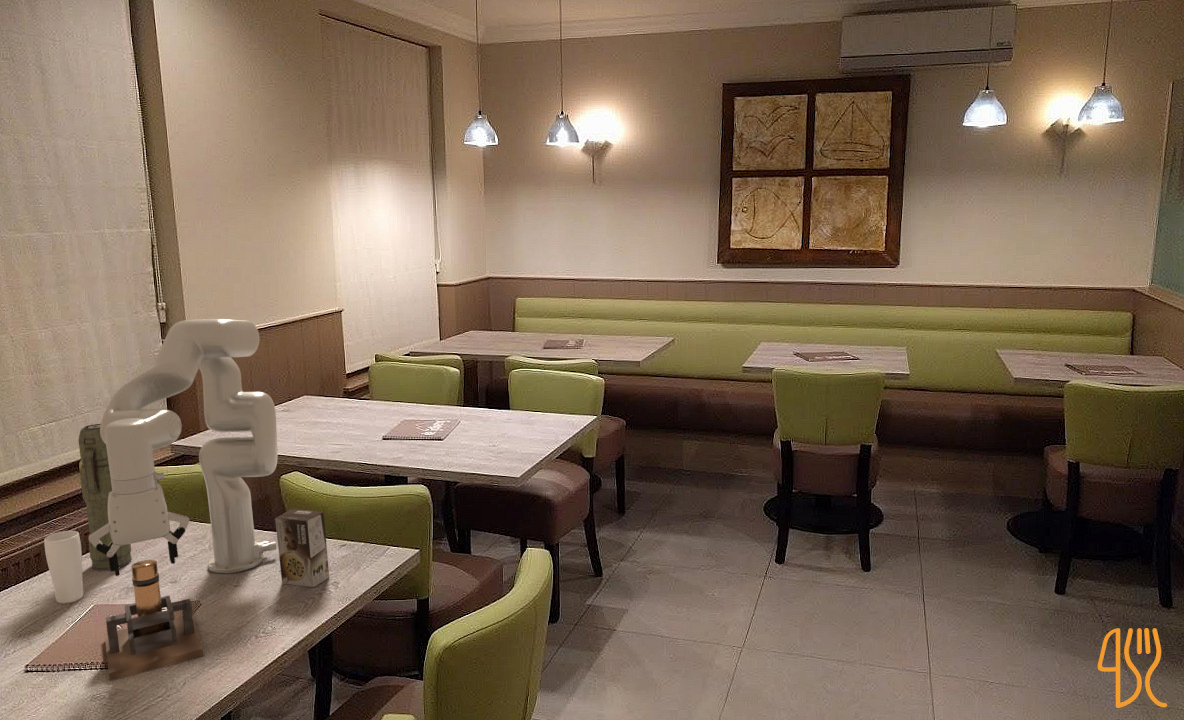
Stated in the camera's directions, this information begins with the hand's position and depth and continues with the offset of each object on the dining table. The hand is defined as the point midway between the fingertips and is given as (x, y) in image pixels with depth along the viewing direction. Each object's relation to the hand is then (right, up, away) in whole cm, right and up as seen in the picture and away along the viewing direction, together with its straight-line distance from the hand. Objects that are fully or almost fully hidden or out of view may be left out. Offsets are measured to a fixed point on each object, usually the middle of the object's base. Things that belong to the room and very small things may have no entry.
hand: (145, 567), depth 167 cm
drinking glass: (-30, -14, +26) cm, 42 cm away
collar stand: (0, -17, +2) cm, 17 cm away
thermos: (-32, -10, +45) cm, 56 cm away
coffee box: (+20, -11, +33) cm, 40 cm away
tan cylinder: (0, -15, +2) cm, 15 cm away
